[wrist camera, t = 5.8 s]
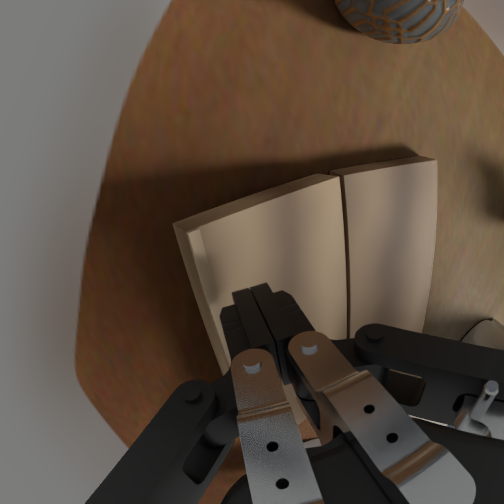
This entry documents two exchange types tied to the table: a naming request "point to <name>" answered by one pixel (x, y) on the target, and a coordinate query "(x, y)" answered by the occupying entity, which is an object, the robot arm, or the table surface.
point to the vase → (400, 18)
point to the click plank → (271, 257)
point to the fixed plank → (389, 241)
